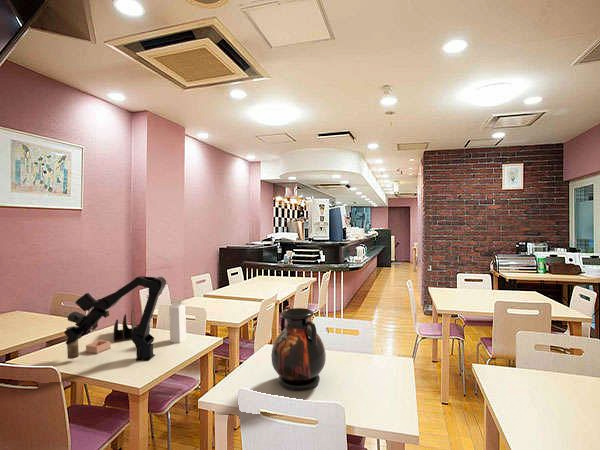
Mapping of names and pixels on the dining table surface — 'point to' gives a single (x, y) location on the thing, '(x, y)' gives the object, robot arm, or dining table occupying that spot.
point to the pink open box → (98, 346)
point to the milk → (177, 321)
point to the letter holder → (124, 329)
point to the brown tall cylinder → (72, 348)
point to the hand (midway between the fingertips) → (69, 342)
